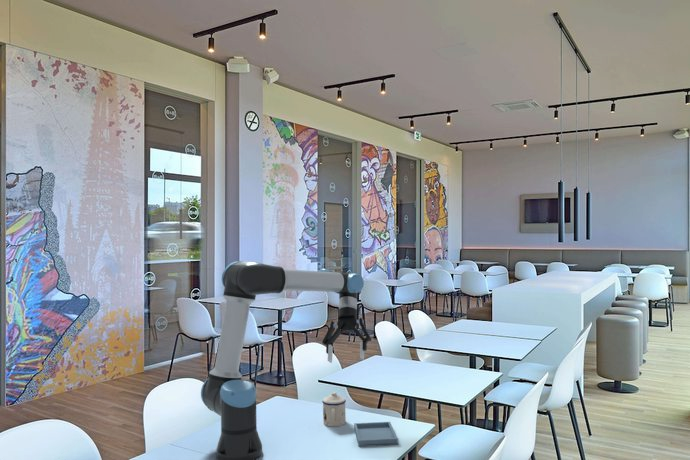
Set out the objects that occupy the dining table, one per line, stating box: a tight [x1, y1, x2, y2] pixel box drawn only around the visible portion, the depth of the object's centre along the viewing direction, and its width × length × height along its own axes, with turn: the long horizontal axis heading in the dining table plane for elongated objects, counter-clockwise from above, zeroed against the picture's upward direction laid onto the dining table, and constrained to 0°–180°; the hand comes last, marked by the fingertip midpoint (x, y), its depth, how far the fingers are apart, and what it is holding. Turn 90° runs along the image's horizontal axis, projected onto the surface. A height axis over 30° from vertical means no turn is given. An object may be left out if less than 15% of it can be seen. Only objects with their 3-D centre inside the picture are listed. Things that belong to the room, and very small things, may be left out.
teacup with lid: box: [322, 391, 347, 427], centre depth 199 cm, size 12×9×12 cm
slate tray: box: [353, 421, 399, 447], centre depth 186 cm, size 14×17×2 cm
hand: (345, 360), depth 202 cm, fingers open, 13 cm apart
